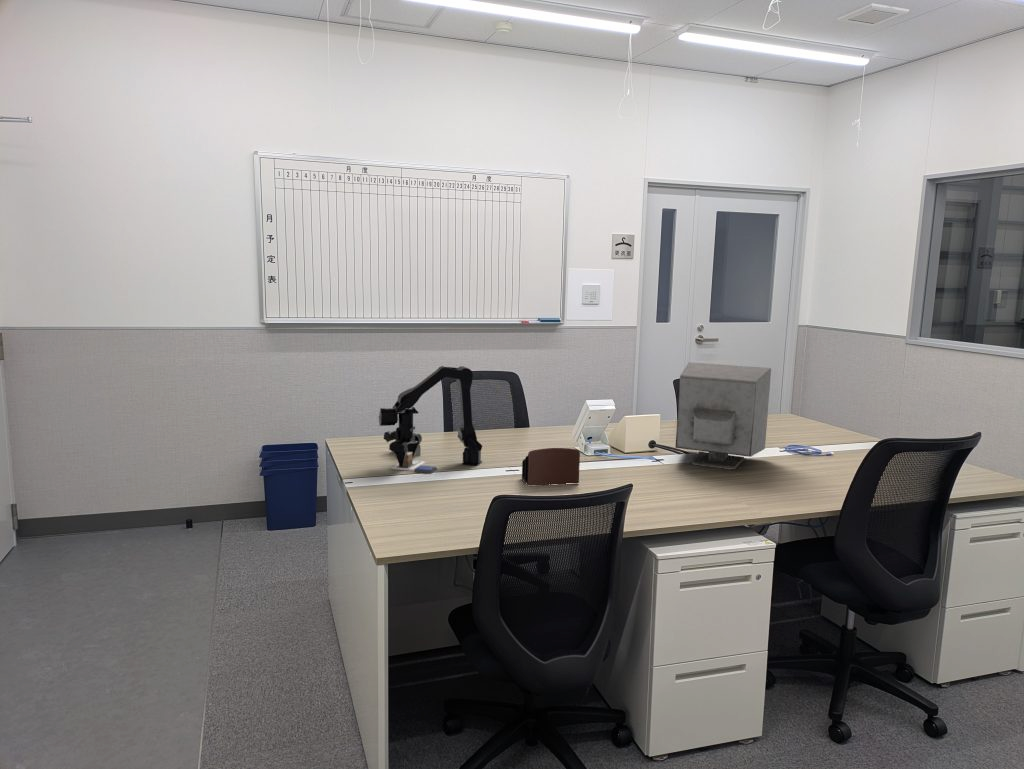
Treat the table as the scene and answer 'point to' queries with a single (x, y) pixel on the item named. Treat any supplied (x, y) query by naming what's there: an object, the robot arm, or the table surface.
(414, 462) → the sheet
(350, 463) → the table surface
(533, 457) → the letter holder
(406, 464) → the beige block
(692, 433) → the crt monitor
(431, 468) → the ink pad
